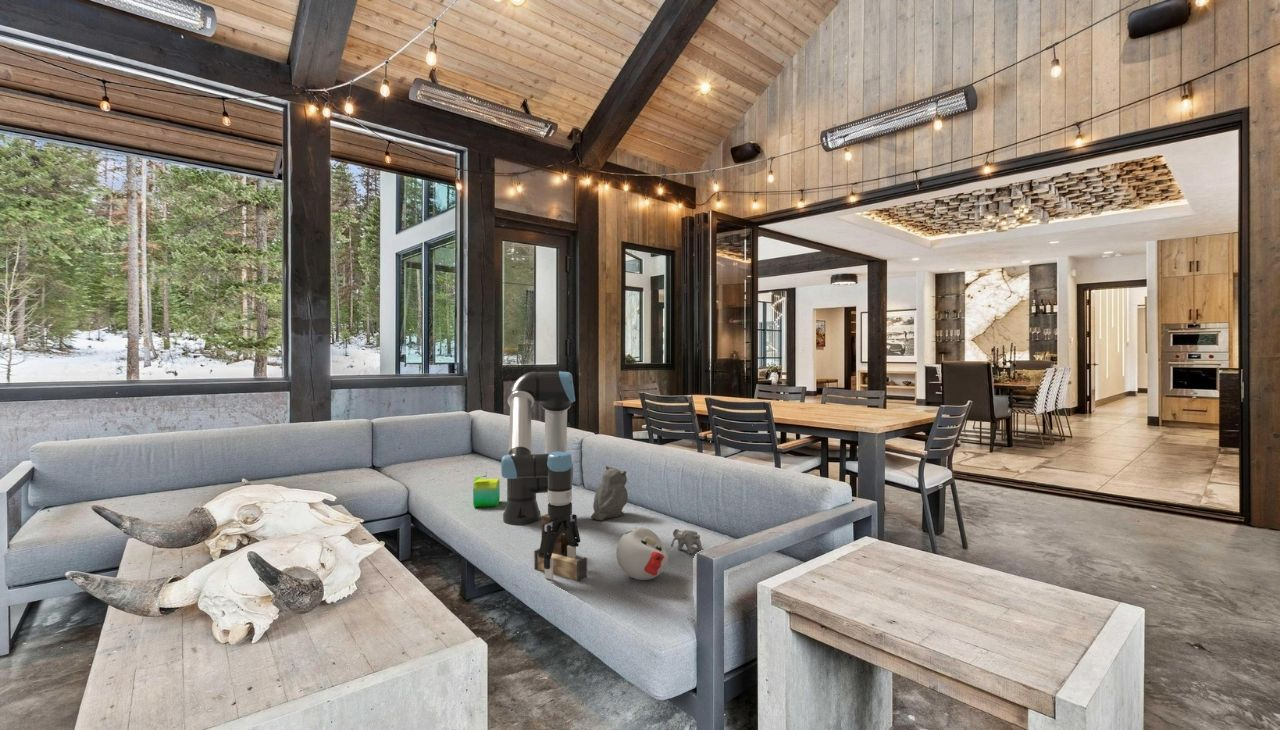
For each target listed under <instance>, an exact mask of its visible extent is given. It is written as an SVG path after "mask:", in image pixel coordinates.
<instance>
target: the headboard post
mask: <svg viewBox="0 0 1280 730" xmlns="http://www.w3.org/2000/svg"><path fill="white" fill-rule="evenodd" d="M540 520H541V521H540V522H541V535H542V534H543V524H549V522H550V516H549V515H548V513H545V514H543V515H541V518H540ZM553 533H555V532H553ZM567 546H570V545H569V543H568V541H567V539H566V537H565V535H564V533H563V532H561V533H560V535H559V537H557V540H556V543H555V547H554V550H553V553H554V554H558V555H562V554H566V555H567Z"/></svg>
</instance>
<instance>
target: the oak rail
mask: <svg viewBox="0 0 1280 730" xmlns="http://www.w3.org/2000/svg"><path fill="white" fill-rule="evenodd" d="M539 550H540V547H539V548H537V549H534V550H533V551H534V552H533V553H534V555H533V557H534V559H533V560H534V561H533V563H534V570H539V571H543V572H545V568H544V558H541V557H539ZM551 557H552V558H553V575H555V576H559V577H563V578H567V579H571V580H575V581H576V582H581V581H583V580H584V579H586V578H588V558H587V557H583V558H581V559H577V558H575V559H573V558H569V557H567V556H565V555H562V554H561V555H558V554H554V553H552V556H551Z"/></svg>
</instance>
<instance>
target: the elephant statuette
mask: <svg viewBox="0 0 1280 730" xmlns="http://www.w3.org/2000/svg"><path fill="white" fill-rule="evenodd" d="M672 536H673V537H674V538H673V539H672V540H671V544H670V547H671V548H673V547H674V545H675V542H676V540H677V543H678V544H677V549H678V550H679V551H681V550H682V549H683V547H684V546H685V547H686V553H687V554H688V555H692V554H693V553H694V550H693V546H696V548H697V550H698V552H699V551H701V550H702V551H703V545H702V543H701V535H700V534H698V531H695V530H689V529H688V530H686V529H685V530H679V528H677V529H674V531H673V532H672ZM702 551H701V552H702Z"/></svg>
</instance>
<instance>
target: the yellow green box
mask: <svg viewBox="0 0 1280 730" xmlns="http://www.w3.org/2000/svg"><path fill="white" fill-rule="evenodd" d="M485 473H486V475H481V476H476V477H474V479H473V487H472V488H473V489H472V492H473V493H472V499H473V500H472V501H473V508H488V507H489V508H490V507H491V508H493V507H494V508H495V507H498V505H499V503H500V497H501V496H500V494H501V493H500V492H501V491H500V489H501V487H500V486H501V485H500V482H501V481H500V478H487V477H488V475H487V473H488V472H487V471H486V472H485Z"/></svg>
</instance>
